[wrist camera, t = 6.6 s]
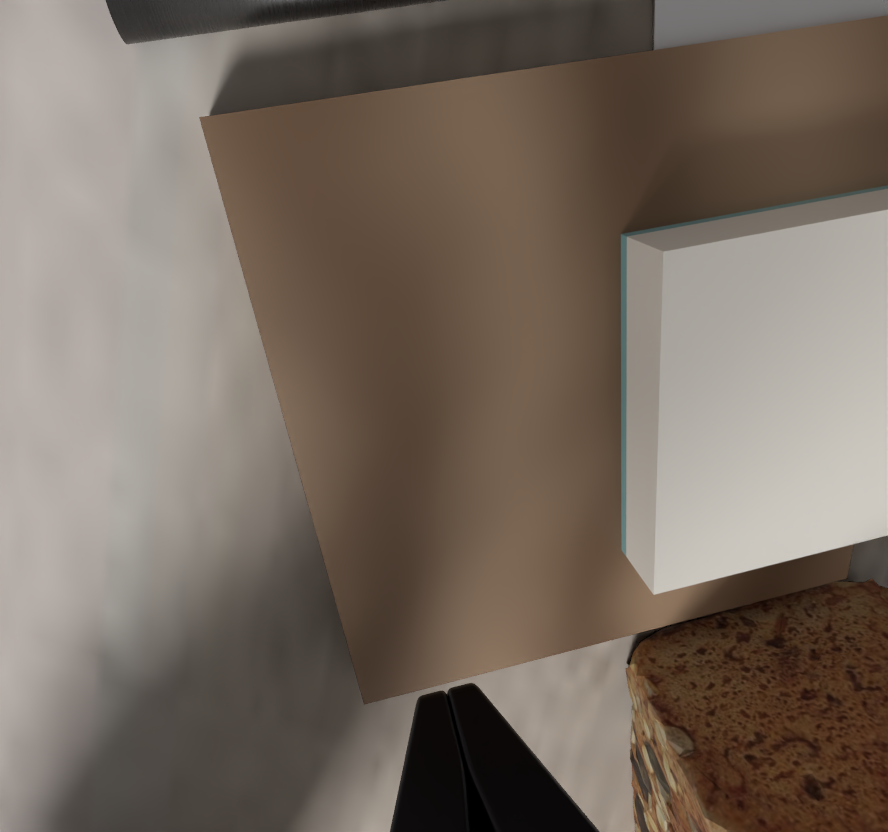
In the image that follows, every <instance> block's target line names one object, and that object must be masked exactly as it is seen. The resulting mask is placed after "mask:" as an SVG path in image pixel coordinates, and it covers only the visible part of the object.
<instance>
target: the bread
mask: <svg viewBox="0 0 888 832" xmlns="http://www.w3.org/2000/svg"><path fill="white" fill-rule="evenodd" d="M626 674H627V681H628V687H629V694H630V697H631V699H632V702H633V706H632V728H631V748H632V750H630V759H631V762H632V772H633V780H632V786H633V789H634V797H633V804H634V820H635V832H888V588H885V587H882V586H879V585H878V584H877V583H876V582H875V581H874V580H873V579H870V580H868V581H866V582H857V583H856V582H845V581H844V582H834V583H828V584H824V585H821V586H817V587H813V588H809V589H805V590H801V591H798V592H794V593H790V594H786V595H782V596H778V597H775V598H771V599H767V600H763V601H759V602H755V603H753V604H750V605H747V606H743V607H739V608H735V609H729V610H725V611H721V612H717V613H713V614H711V615H709V616H706V617H704V618H701V619H697V620H693V621H689V622H685V623H681V624H677V625H673V626H670V627H666V628H663V629H661V630H660V631H658V632H656V633H655V634H653V635H651V636H650V637H648V638H646V639H644V640H642V641H641V642H640V644H639V645H638V647H637V648H636V650H635V651H634V652H633V655H632V659H631V662H630V666H629V667H628V668H626Z"/></svg>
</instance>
